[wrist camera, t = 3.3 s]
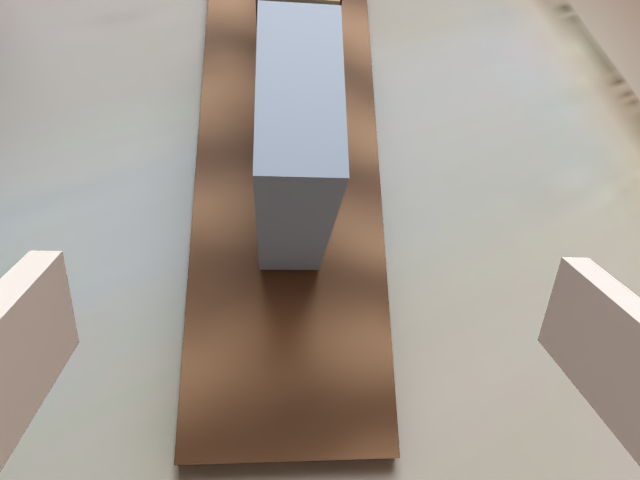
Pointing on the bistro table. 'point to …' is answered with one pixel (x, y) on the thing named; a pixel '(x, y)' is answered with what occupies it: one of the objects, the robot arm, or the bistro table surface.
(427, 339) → the bistro table surface
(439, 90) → the bistro table surface
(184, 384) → the l-shaped wooden stand
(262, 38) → the pale blue rectangular block
